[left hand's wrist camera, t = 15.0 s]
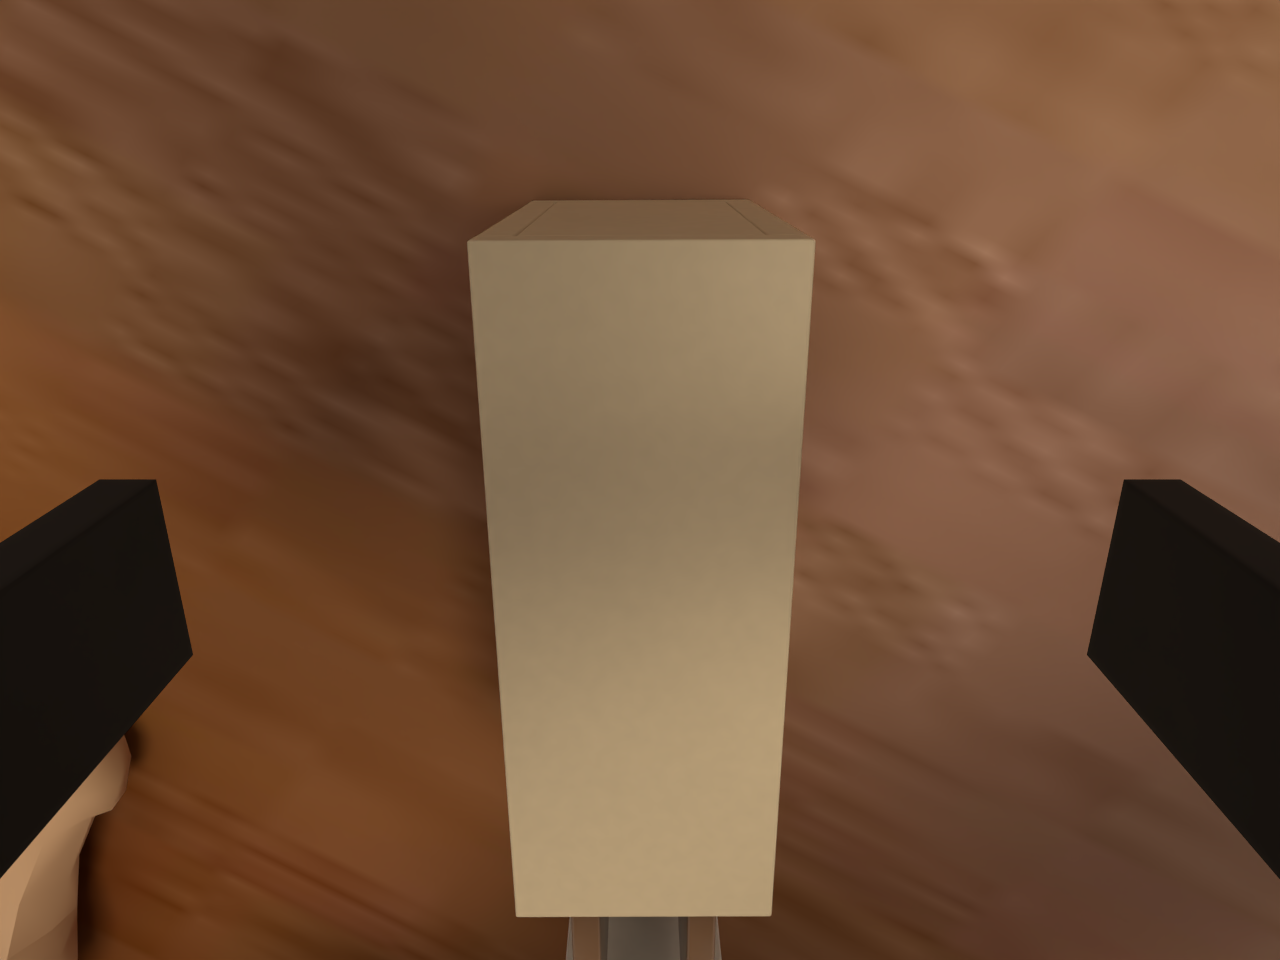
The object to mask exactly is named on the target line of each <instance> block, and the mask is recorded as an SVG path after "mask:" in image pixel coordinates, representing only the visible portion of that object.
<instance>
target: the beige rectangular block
mask: <svg viewBox="0 0 1280 960" xmlns="http://www.w3.org/2000/svg"><path fill="white" fill-rule="evenodd" d="M815 243H816V241H815V239H813V238H812V237H810V236H808V235H806V234H805V233H803V232H801V231H800V230H798V229H797V228H795V227H793V226H792V225H790V224H788V223H787V222H785V221H783V220H782V219H780V218H778V217H777V216H775V215H774V214H772V213H770V212H769V211H767V210H765V209H764V208H762V207H760V206H759V205H757V204H755V203H754V202H752V201H750V200H748V199H743V200H533V201H531V202H529V203H528V204H527V205H525V206H523V207H522V208H520V209H519V210H517V211H515V212H514V213H512V214H511V215H509V216H508V217H506V218H504V219H503V220H501V221H500V222H498V223H496V224H495V225H493V226H492V227H490V228H488V229H487V230H485V231H484V232H482V233H481V234H479V235H477V236H475V237H473V238H472V239H470V240H468V241H467V250H468V264H469V278H470V292H471V305H472V319H473V333H474V347H475V360H476V374H477V388H478V402H479V415H480V429H481V443H482V457H483V470H484V484H485V498H486V512H487V525H488V539H489V553H490V567H491V580H492V594H493V608H494V622H495V636H496V649H497V663H498V677H499V691H500V704H501V718H502V732H503V746H504V759H505V773H506V787H507V801H508V814H509V828H510V842H511V856H512V869H513V883H514V897H515V911H516V916H517V917H682V916H771V914H772V899H773V883H774V868H775V853H776V838H777V822H778V807H779V792H780V777H781V761H782V746H783V731H784V716H785V700H786V685H787V670H788V655H789V639H790V624H791V609H792V594H793V578H794V563H795V548H796V533H797V517H798V502H799V487H800V472H801V456H802V441H803V426H804V411H805V395H806V380H807V365H808V350H809V334H810V319H811V304H812V289H813V273H814V258H815Z"/></svg>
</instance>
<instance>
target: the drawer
mask: <svg viewBox="0 0 1280 960" xmlns="http://www.w3.org/2000/svg"><path fill="white" fill-rule="evenodd" d="M566 960H722V959H721V949H720V939H719V929H718V919H717V916H682V917H570V918H569V930H568V941H567V952H566Z"/></svg>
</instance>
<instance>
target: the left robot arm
mask: <svg viewBox="0 0 1280 960" xmlns="http://www.w3.org/2000/svg"><path fill="white" fill-rule="evenodd" d="M192 655H193V653H192V648H191V643H190V638H189V634H188V629H187V624H186V619H185V615H184V610H183V605H182V601H181V596H180V591H179V586H178V582H177V577H176V572H175V567H174V563H173V558H172V553H171V548H170V544H169V539H168V534H167V529H166V525H165V520H164V515H163V511H162V506H161V501H160V496H159V492H158V487H157V482H156V480H98V481H97V482H95V483H93V484H92V485H90V486H89V487H87V488H86V489H84V490H82V491H81V492H79V493H78V494H76V495H75V496H73V497H71V498H70V499H68V500H67V501H65V502H64V503H62V504H60V505H59V506H57V507H56V508H54V509H53V510H51V511H50V512H48V513H46V514H45V515H43V516H42V517H40V518H39V519H37V520H35V521H34V522H32V523H31V524H29V525H28V526H26V527H24V528H23V529H21V530H20V531H18V532H17V533H15V534H13V535H12V536H10V537H9V538H7V539H6V540H4V541H3V542H1V543H0V879H1V877H2V876H3V875H4V874H5V873H6V872H7V870H8V869H9V868H10V867H11V866H12V865H13V863H14V862H15V861H16V860H17V859H18V858H19V856H20V855H21V854H22V853H23V852H24V851H25V850H26V848H27V847H28V846H29V845H30V844H31V843H32V841H33V840H34V839H35V838H36V837H37V836H38V834H39V833H40V832H41V831H42V830H43V829H44V827H45V826H46V825H47V824H48V823H49V822H50V820H51V819H52V818H53V817H54V816H55V815H56V813H57V812H58V811H59V810H60V809H61V808H62V806H63V805H64V804H65V803H66V802H67V801H68V799H69V798H70V797H71V796H72V795H73V794H74V793H75V791H76V790H77V789H78V788H79V787H80V786H81V784H82V783H83V782H84V781H85V780H86V779H87V777H88V776H89V775H90V774H91V773H92V772H93V770H94V769H95V768H96V767H97V766H98V765H99V763H100V762H101V761H102V760H103V759H104V758H105V756H106V755H107V754H108V753H109V752H110V751H111V749H112V748H113V747H114V746H115V745H116V744H117V742H118V741H119V740H120V739H121V738H122V737H123V736H124V734H125V733H126V732H127V731H128V730H129V729H130V727H131V726H132V725H133V724H134V723H135V722H136V720H137V719H138V718H139V717H140V716H141V715H142V713H143V712H144V711H145V710H146V709H147V708H148V706H149V705H150V704H151V703H152V702H153V701H154V699H155V698H156V697H157V696H158V695H159V694H160V692H161V691H162V690H163V689H164V688H165V687H166V685H167V684H168V683H169V682H170V681H171V680H172V679H173V677H174V676H175V675H176V674H177V673H178V672H179V670H180V669H181V668H182V667H183V666H184V665H185V663H186V662H187V661H188V660H189V659H190V658H191V656H192ZM1087 655H1088V656H1089V658H1090V659H1091V660H1092V661H1093V662H1094V663H1095V665H1096V666H1097V667H1098V668H1099V669H1100V670H1101V672H1102V673H1103V674H1104V675H1105V676H1106V677H1107V679H1108V680H1109V681H1110V682H1111V683H1112V684H1113V685H1114V687H1115V688H1116V689H1117V690H1118V691H1119V692H1120V694H1121V695H1122V696H1123V697H1124V698H1125V699H1126V701H1127V702H1128V703H1129V704H1130V705H1131V706H1132V708H1133V709H1134V710H1135V711H1136V712H1137V713H1138V715H1139V716H1140V717H1141V718H1142V719H1143V720H1144V722H1145V723H1146V724H1147V725H1148V726H1149V727H1150V729H1151V730H1152V731H1153V732H1154V733H1155V734H1156V736H1157V737H1158V738H1159V739H1160V740H1161V741H1162V742H1163V744H1164V745H1165V746H1166V747H1167V748H1168V749H1169V751H1170V752H1171V753H1172V754H1173V755H1174V756H1175V758H1176V759H1177V760H1178V761H1179V762H1180V763H1181V765H1182V766H1183V767H1184V768H1185V769H1186V770H1187V772H1188V773H1189V774H1190V775H1191V776H1192V777H1193V779H1194V780H1195V781H1196V782H1197V783H1198V784H1199V786H1200V787H1201V788H1202V789H1203V790H1204V791H1205V793H1206V794H1207V795H1208V796H1209V797H1210V798H1211V799H1212V801H1213V802H1214V803H1215V804H1216V805H1217V806H1218V808H1219V809H1220V810H1221V811H1222V812H1223V813H1224V815H1225V816H1226V817H1227V818H1228V819H1229V820H1230V822H1231V823H1232V824H1233V825H1234V826H1235V827H1236V829H1237V830H1238V831H1239V832H1240V833H1241V834H1242V836H1243V837H1244V838H1245V839H1246V840H1247V841H1248V843H1249V844H1250V845H1251V846H1252V847H1253V848H1254V850H1255V851H1256V852H1257V853H1258V854H1259V855H1260V856H1261V858H1262V859H1263V860H1264V861H1265V862H1266V863H1267V865H1268V866H1269V867H1270V868H1271V869H1272V870H1273V872H1274V873H1275V874H1276V875H1277V876H1278V877H1279V879H1280V543H1279V542H1277V541H1276V540H1274V539H1273V538H1271V537H1270V536H1268V535H1267V534H1265V533H1263V532H1262V531H1260V530H1259V529H1257V528H1256V527H1254V526H1252V525H1251V524H1249V523H1248V522H1246V521H1245V520H1243V519H1241V518H1240V517H1238V516H1237V515H1235V514H1234V513H1232V512H1230V511H1229V510H1227V509H1226V508H1224V507H1223V506H1221V505H1220V504H1218V503H1216V502H1215V501H1213V500H1212V499H1210V498H1209V497H1207V496H1205V495H1204V494H1202V493H1201V492H1199V491H1198V490H1196V489H1194V488H1193V487H1191V486H1190V485H1188V484H1187V483H1185V482H1183V481H1182V480H1124V482H1123V487H1122V492H1121V496H1120V501H1119V506H1118V511H1117V515H1116V520H1115V525H1114V529H1113V534H1112V539H1111V544H1110V548H1109V553H1108V558H1107V563H1106V567H1105V572H1104V577H1103V582H1102V586H1101V591H1100V596H1099V601H1098V605H1097V610H1096V615H1095V619H1094V624H1093V629H1092V634H1091V638H1090V643H1089V648H1088V653H1087Z"/></svg>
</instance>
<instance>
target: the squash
mask: <svg viewBox="0 0 1280 960" xmlns="http://www.w3.org/2000/svg"><path fill="white" fill-rule="evenodd" d="M130 762H131V753H130V750H129V747H128V744H127V741H126V738H125V735H124V736H123V737H122V738H121V739H120V740H119V741H118V742H117V744H116V745H115V746H114V747H113V748H112V749H111V751H110V752H109V753H108V754H107V755H106V756H105V758H104V759H103V760H102V761H101V762H100V763H99V765H98V766H97V767H96V768H95V769H94V770H93V772H92V773H91V774H90V775H89V776H88V777H87V779H86V780H85V781H84V782H83V783H82V784H81V786H80V787H79V788H78V789H77V790H76V791H75V793H74V794H73V795H72V796H71V797H70V798H69V799H68V801H67V802H66V803H65V804H64V805H63V806H62V808H61V809H60V810H59V811H58V812H57V813H56V815H55V816H54V817H53V818H52V819H51V820H50V822H49V823H48V824H47V825H46V826H45V827H44V829H43V830H42V831H41V832H40V833H39V834H38V836H37V837H36V838H35V839H34V840H33V841H32V843H31V844H30V845H29V846H28V847H27V848H26V850H25V851H24V852H23V853H22V854H21V855H20V856H19V858H18V859H17V860H16V861H15V862H14V863H13V865H12V866H11V867H10V868H9V869H8V870H7V872H6V873H5V874H4V875H3V876H2V877H1V879H0V960H78V936H77V899H78V874H79V854H80V852H81V849H82V847H83V845H84V842H85V840H86V837H87V835H88V832H89V830H90V827H91V825H92V823H93V820H94V818H95V816H96V815H99V814H102V813H105V812H108V811H110V810H112V809H113V808H114V806H115V805H116V803H117V802H118V801H119V799H120V798H121V796H122V795H123V794H124V792H125V791H126V788H127V781H128V775H129V768H130Z"/></svg>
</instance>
